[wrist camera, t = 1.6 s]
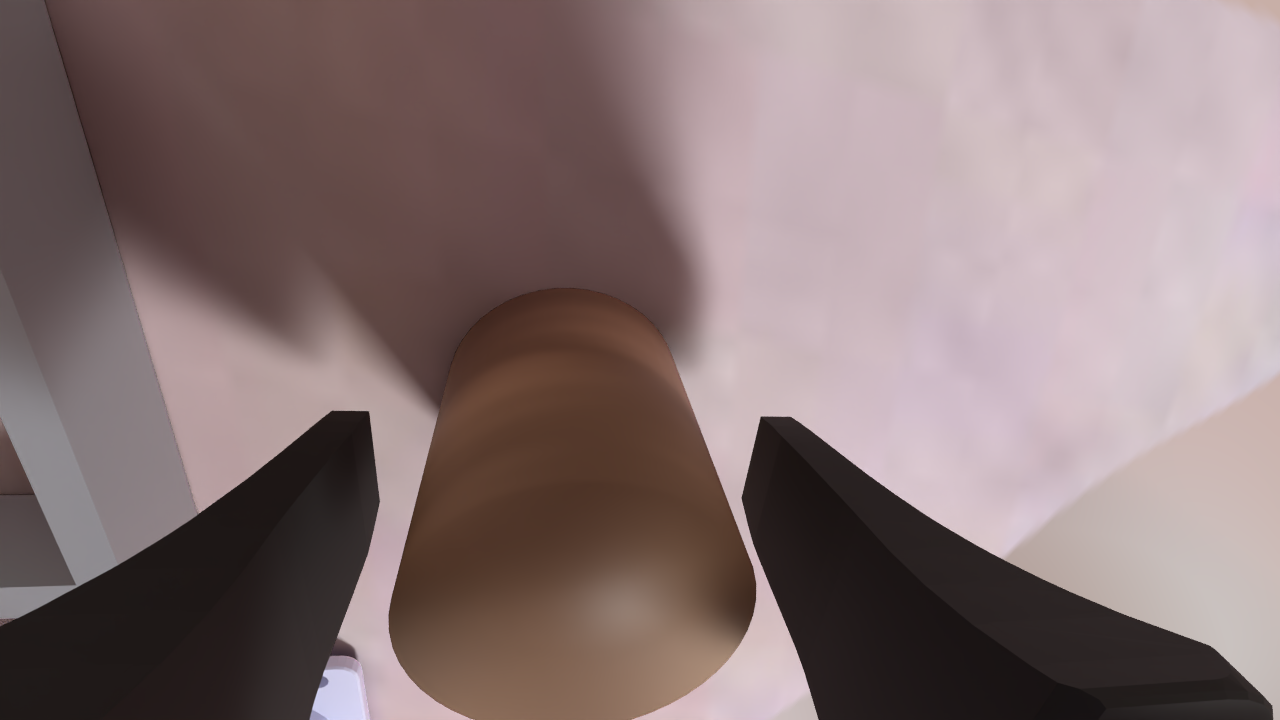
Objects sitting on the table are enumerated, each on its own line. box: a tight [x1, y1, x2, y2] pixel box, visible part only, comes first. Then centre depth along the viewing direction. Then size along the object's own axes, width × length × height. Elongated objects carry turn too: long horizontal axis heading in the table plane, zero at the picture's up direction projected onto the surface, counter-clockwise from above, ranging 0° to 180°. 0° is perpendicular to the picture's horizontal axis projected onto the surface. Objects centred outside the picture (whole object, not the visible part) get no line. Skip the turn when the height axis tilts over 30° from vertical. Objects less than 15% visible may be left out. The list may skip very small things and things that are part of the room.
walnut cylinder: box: [389, 288, 756, 720], centre depth 11 cm, size 5×5×6 cm
